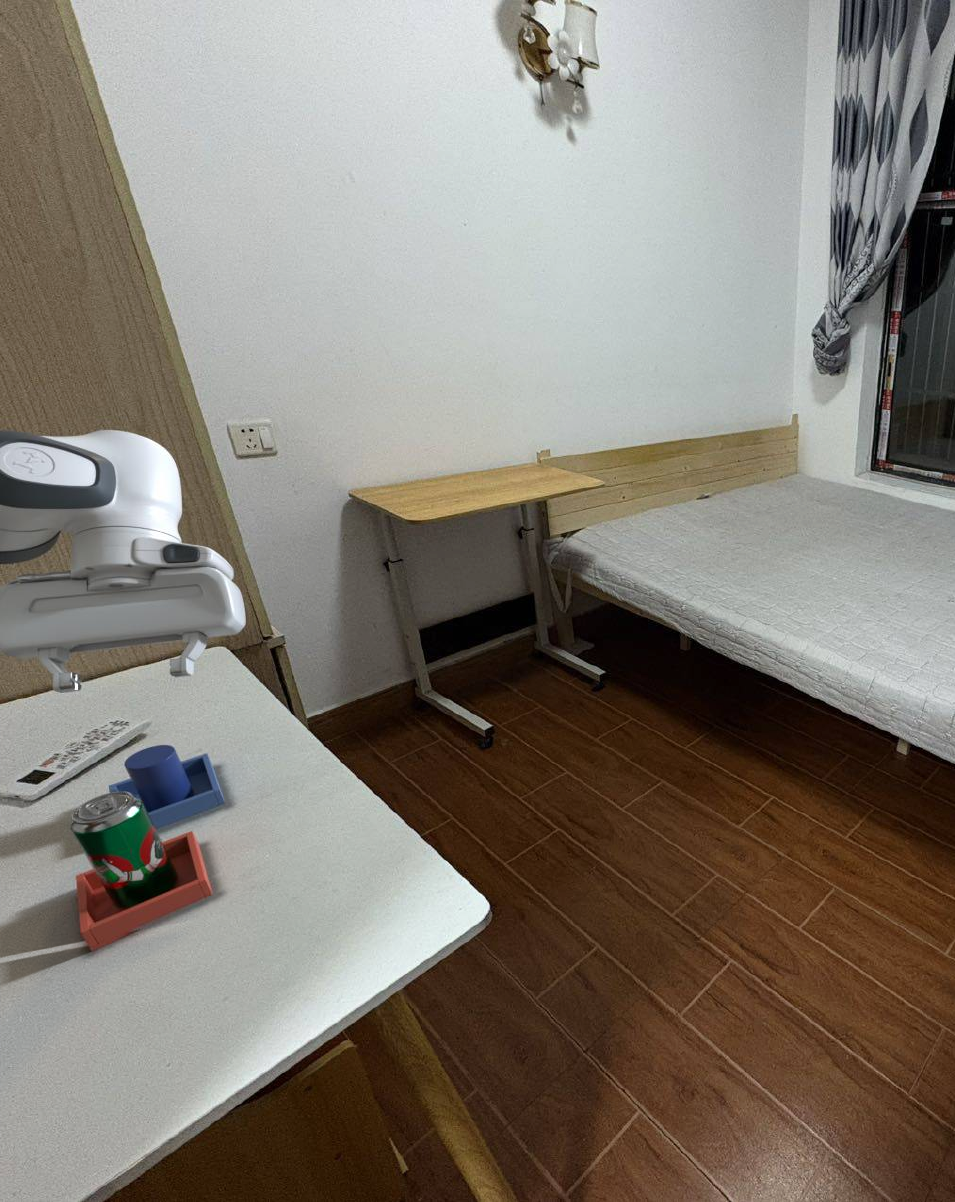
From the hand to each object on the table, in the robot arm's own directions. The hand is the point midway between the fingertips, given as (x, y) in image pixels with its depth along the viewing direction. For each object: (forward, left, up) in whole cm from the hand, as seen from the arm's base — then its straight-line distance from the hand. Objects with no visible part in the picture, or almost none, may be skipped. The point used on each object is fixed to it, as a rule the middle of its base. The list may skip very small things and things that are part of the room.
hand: (126, 683), depth 71 cm
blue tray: (-2, +2, -19) cm, 19 cm away
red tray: (+2, -13, -19) cm, 23 cm away
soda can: (+2, -13, -19) cm, 23 cm away
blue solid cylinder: (-2, +2, -19) cm, 19 cm away
